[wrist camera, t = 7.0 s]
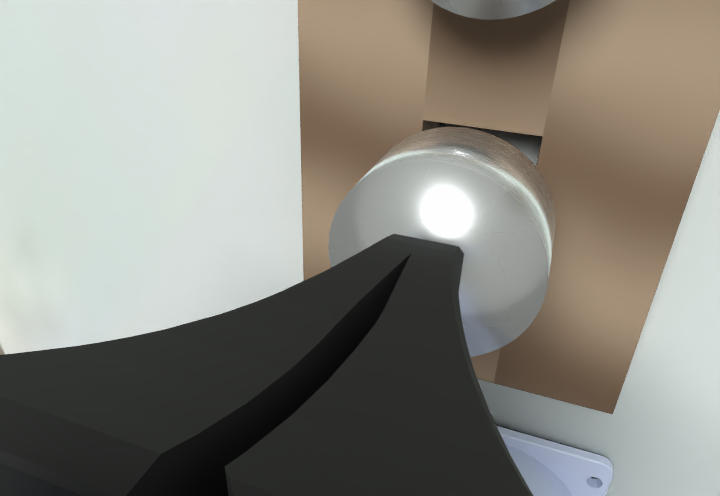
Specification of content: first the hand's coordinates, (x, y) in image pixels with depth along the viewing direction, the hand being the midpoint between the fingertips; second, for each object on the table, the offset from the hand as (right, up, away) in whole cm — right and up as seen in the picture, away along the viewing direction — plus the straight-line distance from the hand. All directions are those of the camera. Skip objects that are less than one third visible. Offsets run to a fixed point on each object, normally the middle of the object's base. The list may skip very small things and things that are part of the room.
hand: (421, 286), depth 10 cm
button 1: (+2, +2, +4) cm, 5 cm away
